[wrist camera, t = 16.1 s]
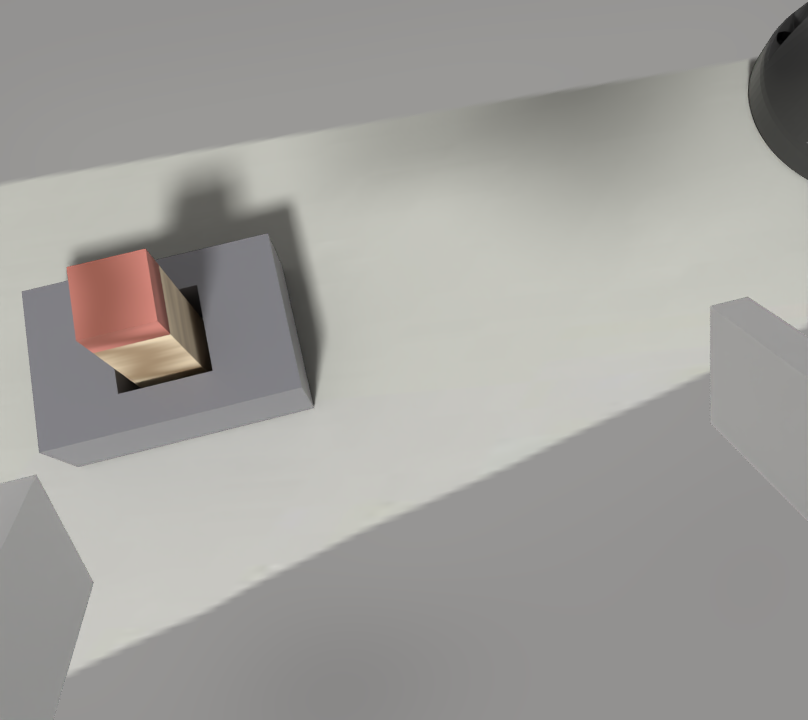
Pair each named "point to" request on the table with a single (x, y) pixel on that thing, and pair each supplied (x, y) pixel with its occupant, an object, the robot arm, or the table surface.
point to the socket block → (183, 398)
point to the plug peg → (137, 319)
